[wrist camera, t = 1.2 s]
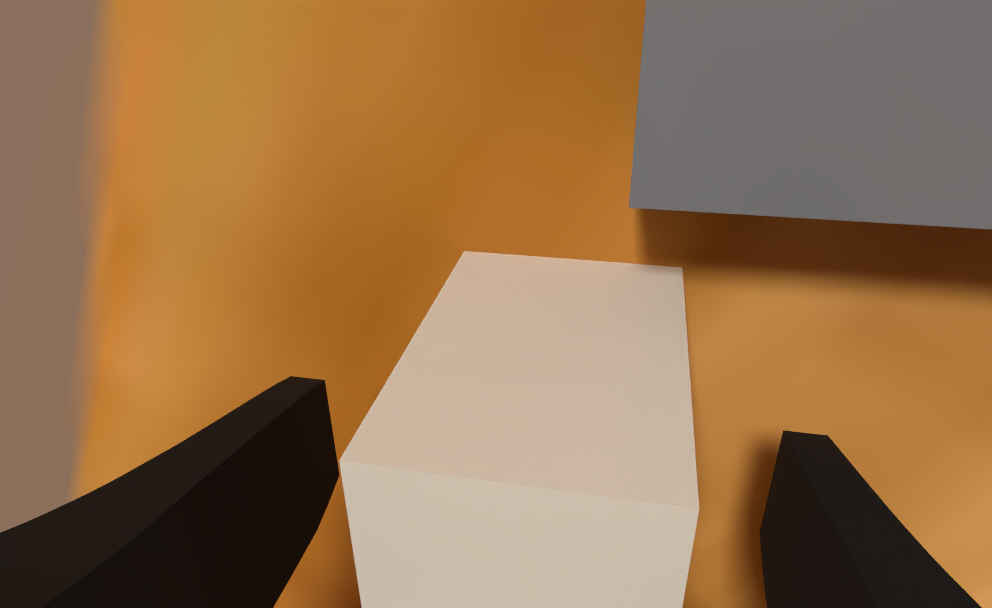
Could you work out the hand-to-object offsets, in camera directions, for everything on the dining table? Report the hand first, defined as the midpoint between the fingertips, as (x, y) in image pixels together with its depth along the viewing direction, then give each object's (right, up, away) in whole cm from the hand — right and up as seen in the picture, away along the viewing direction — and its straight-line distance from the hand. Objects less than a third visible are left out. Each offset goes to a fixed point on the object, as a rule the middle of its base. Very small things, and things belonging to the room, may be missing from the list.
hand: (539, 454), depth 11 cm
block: (+1, +1, +3) cm, 3 cm away
